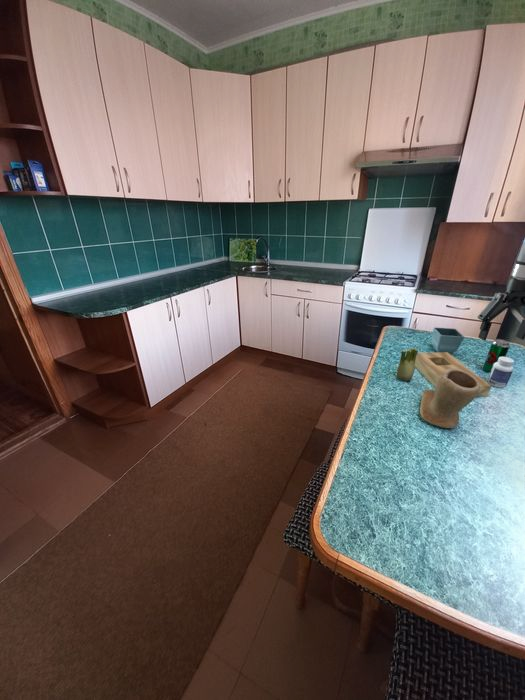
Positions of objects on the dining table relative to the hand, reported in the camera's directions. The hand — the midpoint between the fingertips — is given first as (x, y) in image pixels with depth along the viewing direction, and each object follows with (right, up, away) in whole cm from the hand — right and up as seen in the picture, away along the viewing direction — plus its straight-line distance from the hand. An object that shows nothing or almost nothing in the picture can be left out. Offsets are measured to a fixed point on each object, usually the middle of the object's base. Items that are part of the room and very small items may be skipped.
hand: (500, 338), depth 102 cm
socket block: (-18, -14, +2) cm, 23 cm away
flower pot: (-8, -5, +20) cm, 22 cm away
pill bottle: (-3, -16, -2) cm, 16 cm away
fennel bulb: (-33, -15, +2) cm, 37 cm away
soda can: (+1, -12, +6) cm, 13 cm away
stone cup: (-31, -24, -16) cm, 42 cm away
